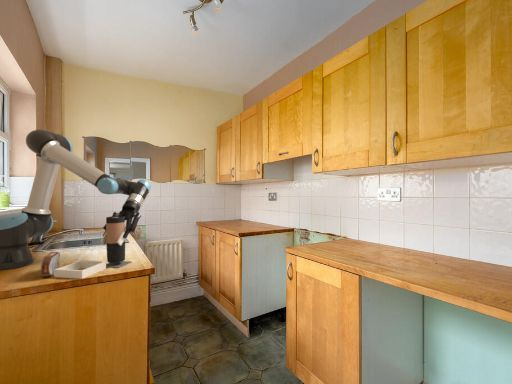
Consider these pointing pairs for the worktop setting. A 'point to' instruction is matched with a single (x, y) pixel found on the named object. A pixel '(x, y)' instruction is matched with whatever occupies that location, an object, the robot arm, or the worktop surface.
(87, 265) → the tray rim
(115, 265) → the mat
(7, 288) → the worktop surface
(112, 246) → the travel mug
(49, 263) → the brown arched piece
